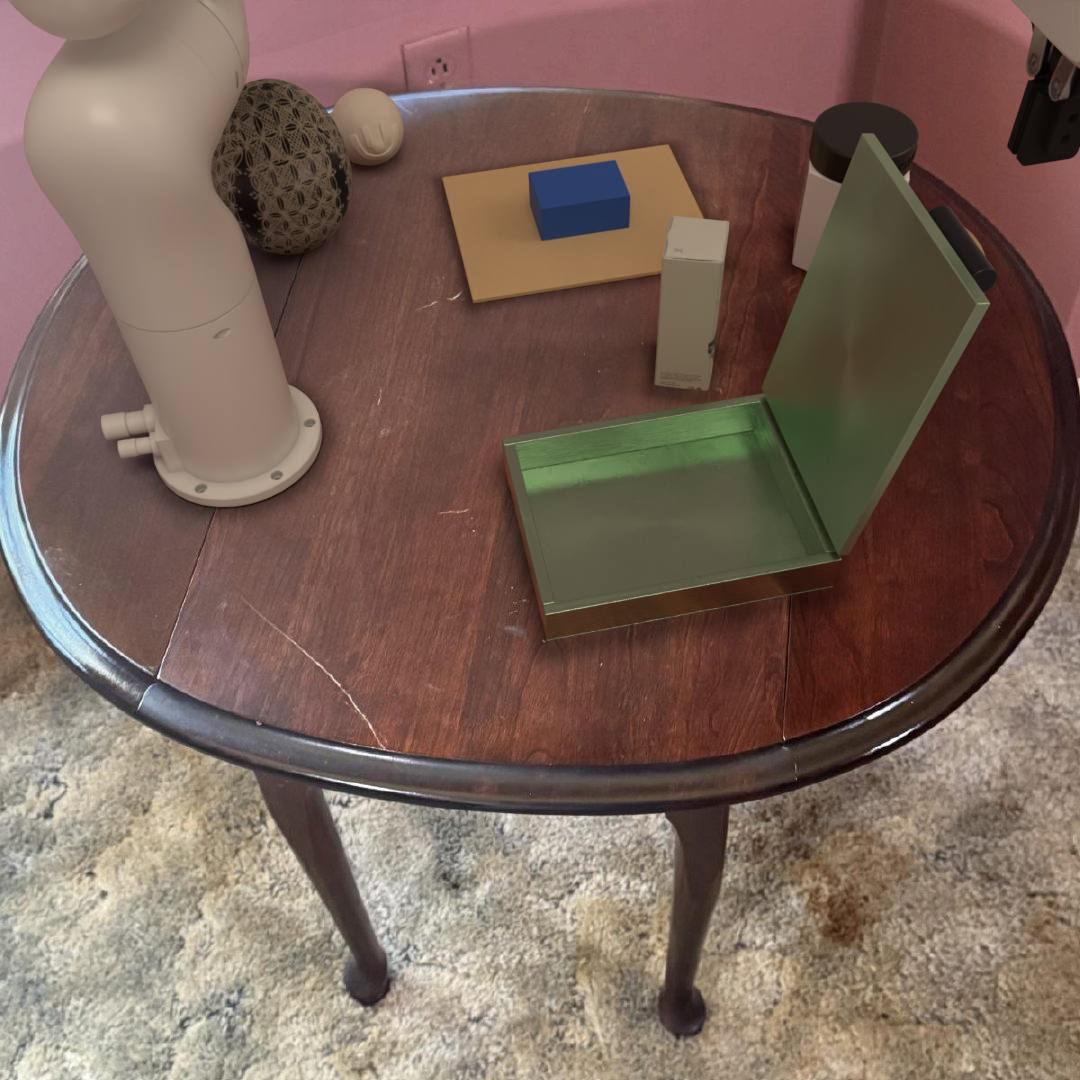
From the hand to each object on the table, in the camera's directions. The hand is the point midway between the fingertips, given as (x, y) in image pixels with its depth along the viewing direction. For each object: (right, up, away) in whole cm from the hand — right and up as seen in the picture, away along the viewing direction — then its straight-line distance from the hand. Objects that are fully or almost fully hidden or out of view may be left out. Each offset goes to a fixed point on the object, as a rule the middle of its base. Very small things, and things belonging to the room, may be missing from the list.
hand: (1040, 153), depth 59 cm
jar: (-1, +4, +38) cm, 38 cm away
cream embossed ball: (-43, +16, +49) cm, 67 cm away
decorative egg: (-48, +6, +41) cm, 64 cm away
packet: (-23, +9, +41) cm, 48 cm away
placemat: (-23, +8, +42) cm, 48 cm away
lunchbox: (-18, -20, +20) cm, 33 cm away
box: (-15, -7, +29) cm, 34 cm away
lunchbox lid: (-8, -9, +9) cm, 15 cm away
